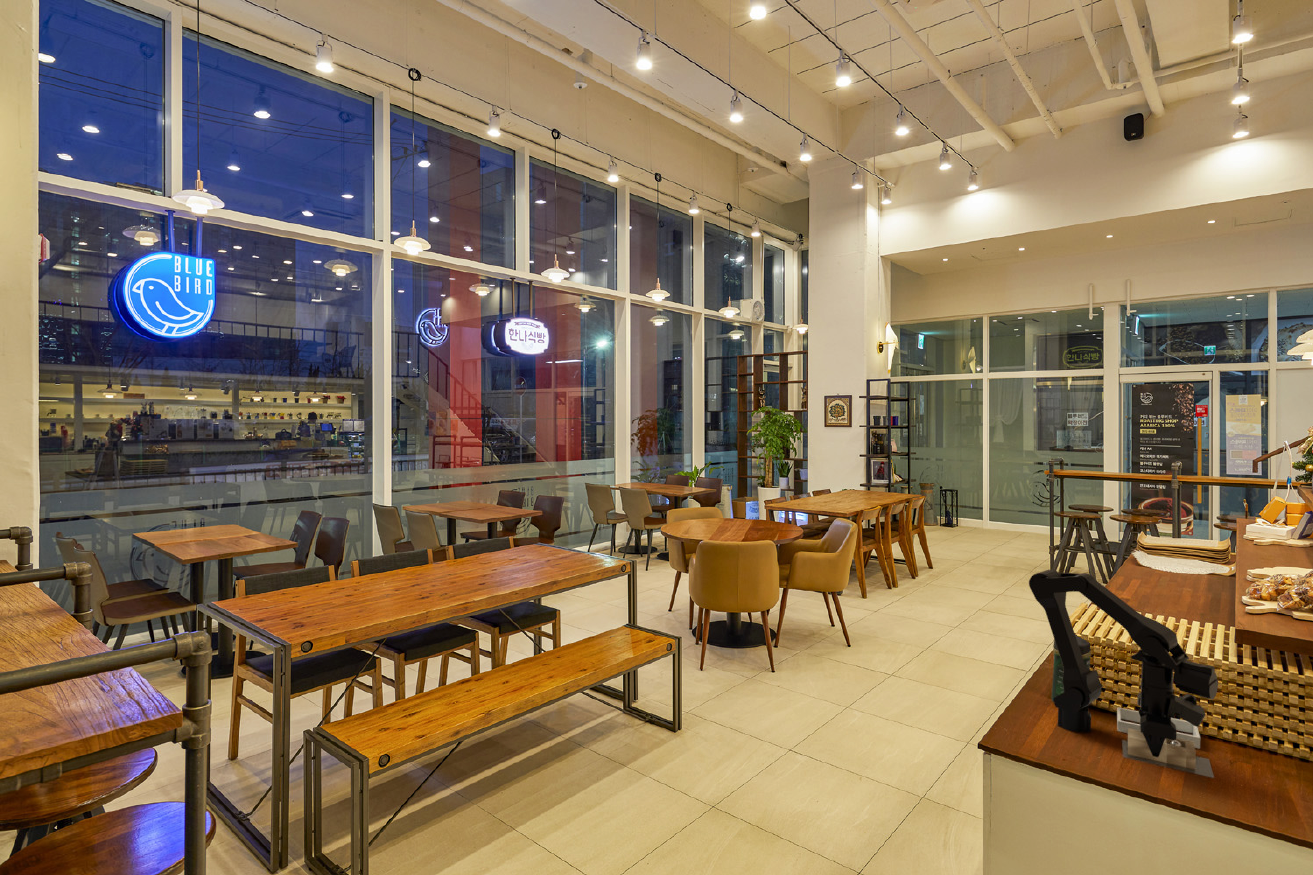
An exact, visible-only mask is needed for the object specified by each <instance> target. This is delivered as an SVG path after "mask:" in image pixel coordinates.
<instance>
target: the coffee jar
mask: <svg viewBox="0 0 1313 875" xmlns="http://www.w3.org/2000/svg"><path fill="white" fill-rule="evenodd" d="M1075 636H1076V639H1077V642H1078V645H1079V648H1080V651H1081V654H1082V657H1083V660H1084V663H1085V665H1086V666H1087V667H1088V668H1089V669H1090V668H1091V656H1092V655H1091V654H1092V648H1091V649H1090V643H1089V642H1087V641H1086V640H1084V639H1082V638H1081V637H1078V636H1077V635H1075ZM1052 646H1053V647H1052V648H1053V671H1052V672H1053V673H1052V686H1051V701H1052V702H1053V703H1054V701H1053V698H1055V697H1056V696H1058V695H1060V694H1062V693H1063V692H1064V689H1063V682H1062V679H1063V664H1062V661H1061V658H1060V655H1059V652H1058V649H1057V646H1056V643H1055V640H1053V645H1052ZM1090 670H1091V669H1090Z"/></svg>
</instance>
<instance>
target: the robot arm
mask: <svg viewBox="0 0 1313 875" xmlns="http://www.w3.org/2000/svg"><path fill="white" fill-rule="evenodd" d="M1028 586H1029V589H1030V591H1031V592H1032V594H1033V596H1034V598H1035V600H1036V601H1037V602H1038V604H1040V606H1041V607H1042V608H1043V610H1044V612H1045V614H1046V618H1047V621H1048V624H1049V627H1050V630H1051V633H1052V636H1053V639H1054V640H1055V643H1056V646H1057V649H1058V652H1059V655H1060V658H1061V661H1062V664H1063V679H1062V682H1063V689H1064V692H1063V693H1062V694H1060V695H1058V696H1056V697H1055V698H1053V701H1054V702H1053V701H1052V702H1053V703H1054V706H1055V708H1056V709H1057V727H1060V728H1061V729H1063V730H1067V731H1068V732H1072V733H1073V732H1074V733H1086V734H1087V733H1089V734H1090V733H1092V713H1090V712H1089V706H1091V705H1092V703H1093V702H1095V701H1096V700H1098V699H1099V698H1100V696H1101V695H1102V688H1103V687H1104V685H1103V684H1102V683H1101V681H1100V677H1099V672H1098V670H1097V669H1095V670H1091V669H1089V668H1088V667H1087V666H1086V665H1085V663H1084V660H1083V657H1082V654H1081V651H1080V648H1079V645H1078V642H1077V639H1076V636H1075V630H1074V627H1073V625H1072V622H1071V618H1070V615H1069V613H1068V610H1067V606H1066V600H1067V593H1068V592H1069V593H1071V592H1077V593H1080V594H1081V595H1083V597H1085V598H1086V599H1088V600H1089V601H1090V602H1091V603H1092V604H1094V605H1095V606H1096V607H1098V608H1099V609H1100V610H1101V611H1103V612H1104V613H1105V614H1107V615H1108V616H1109V617H1110V618H1111V619H1113V620H1114V621H1115V622H1116V623H1118V624H1119V625H1121V626H1122V627H1123V628H1124V629H1125V631H1126V632H1127V634H1128V635H1129V637H1130V638H1131V640H1132V641H1133V642H1134V643H1135V644H1136V645H1137V647H1139V648H1140V649H1139V650H1138V651H1137V652H1135V653H1134V654H1132V655H1131V656H1130V659H1131V660H1134V661H1138V662H1141V677H1140V678H1141V680H1140V692H1139V693H1137V706H1138V708H1137V709H1138V711H1139V715H1140V723H1139V724H1140V730H1141V732H1142V733H1143V735H1144V737H1145V739H1146V742H1147V744H1148V746H1149V749H1150V751H1151V753H1152V756H1155V757H1159V754H1160V752H1161V749H1162V746H1163V743H1164V741H1165V739H1166V738H1167V739H1172V740H1176V733H1177V731H1178V730H1176V726H1175V724H1174V723H1173V722H1172V721H1171V718H1174V719H1176V718H1175V717H1177V718H1178V719H1180V720H1184V721H1188V722H1190V723H1191V724H1192V725H1194V726H1196V727H1197V728H1198V727H1200V725H1201V724H1202V722H1203V720H1204V718H1205V717H1206V712H1205V708H1203V707H1202V706H1201V705H1200V704H1198V703H1197V698H1196V696H1197V697H1202V698H1206V699H1209V700H1214V699H1215V697H1216V695H1217V693H1218V688H1219V679H1218V675H1217V673H1216V672H1215V666H1213V665H1209V664H1202V663H1197V662H1192V661H1190V660H1189V659H1190V658H1189V656H1188V655H1187V653H1186V652H1185V650H1184V648H1182V646H1181V645H1180V644H1179V641H1178V636H1177V634H1176V633H1175V632H1174V630H1173V629H1171V628H1169V627H1168V626H1166V625H1164V624H1162V623H1161V622H1159V621H1157V620H1154V619H1153V618H1150V617H1147V616H1144V615H1143V614H1141V613H1139V612H1138V611H1136V609H1134V608H1133V607H1132V606H1130V605H1129V604H1128V603H1126V602H1125V601H1124V600H1123V599H1121V598H1120V597H1118V596H1117V595H1116V594H1115V593H1114V592H1112V591H1111V590H1109V589H1108V588H1107V587H1106V586H1104V585H1103V584H1101V582H1099V581H1098V580H1096V579H1095V577H1094V576H1093V574H1090V573H1086V572H1085V573H1084V572H1083V573H1077V572H1076V573H1075V572H1074V573H1073V572H1058V571H1057V570H1055V569H1046V570H1043V571H1040V572H1037V573H1035V574H1032V576H1031V577H1030V579H1029V580H1028ZM1054 640H1053V641H1054ZM1174 685H1175V688H1177V689H1178V690H1179V691H1180V692H1183V693H1187V694H1184V695H1183V696H1181V695H1179V696H1178V695H1176V694H1175V689H1174Z"/></svg>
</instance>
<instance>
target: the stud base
mask: <svg viewBox="0 0 1313 875" xmlns="http://www.w3.org/2000/svg"><path fill="white" fill-rule="evenodd" d="M1121 744H1122V745H1121V746H1122V747H1121V748H1122V758H1126V759H1129V760H1134V761H1138V762H1143V763H1147V764H1151V765H1155V766H1160V767H1164V768H1168V769H1172V770H1178V771H1180V772H1181V771H1182V772H1186V773H1190V774H1194V775H1198V776H1203V777H1207V778H1212V779H1215V775H1214V772H1213V769H1212V766H1211V762H1210V759H1209V758H1206V757H1200V756H1197V755H1196V764H1195V769H1191V768H1186V767H1182V766H1177V765H1173V764H1169V763H1164V762H1160V761H1156V760H1151V759H1147V758H1142V757H1138V756H1134V755H1129V754H1128V740H1124V739H1122V740H1121ZM1170 745H1174V746H1179V747H1182V745H1181V743H1180V742H1178V741H1176V740H1173V741H1171V742H1170Z"/></svg>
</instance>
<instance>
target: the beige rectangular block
mask: <svg viewBox="0 0 1313 875" xmlns="http://www.w3.org/2000/svg"><path fill="white" fill-rule="evenodd" d="M1127 741H1128V754H1129V755H1134V756H1138V757H1142V758H1147V759H1151V760H1156V761H1160V762H1164V763H1169V764H1173V765H1177V766H1182V767H1186V768H1191V769H1195V764H1196V756H1197V755H1196V754H1197V750H1196V748H1195V746H1194V742H1192V741H1187V740H1182V739H1178V738H1176V741H1178V742H1180V743H1181V745H1182V747H1179V746H1174V745H1170V742H1171V741H1173V740H1172V739H1167V738H1166V739H1165V741H1164V743H1163V746H1162V749H1161V752H1160V754H1159V757H1155V756H1152V753H1151V751H1150V749H1149V746H1148V744H1147V742H1146V739H1145V737H1144V735H1143V733H1142V732H1141V731H1140V730H1135V729H1130V728H1128V733H1127Z"/></svg>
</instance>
